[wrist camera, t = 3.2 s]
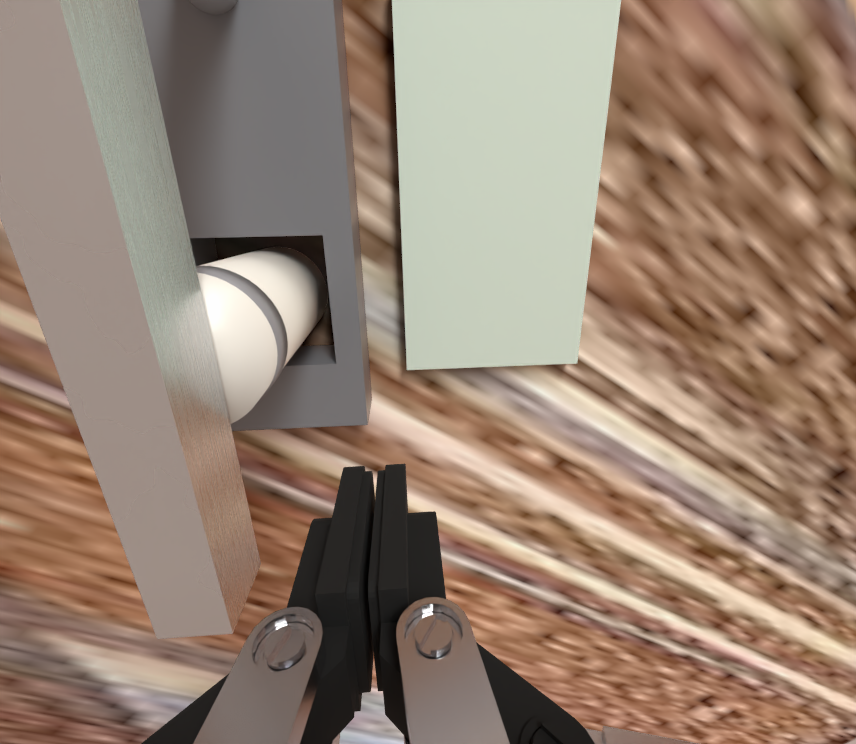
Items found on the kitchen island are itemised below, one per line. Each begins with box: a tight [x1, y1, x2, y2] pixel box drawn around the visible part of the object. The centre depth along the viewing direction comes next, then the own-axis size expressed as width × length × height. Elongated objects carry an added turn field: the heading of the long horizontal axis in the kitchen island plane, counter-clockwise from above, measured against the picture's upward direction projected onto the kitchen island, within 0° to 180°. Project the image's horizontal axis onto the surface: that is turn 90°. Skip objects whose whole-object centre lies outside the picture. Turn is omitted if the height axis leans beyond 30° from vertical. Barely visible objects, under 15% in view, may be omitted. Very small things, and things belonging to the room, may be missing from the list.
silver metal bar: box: [0, 0, 261, 639], centre depth 9 cm, size 19×3×2 cm, turn 1°
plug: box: [196, 247, 328, 424], centre depth 16 cm, size 4×4×10 cm
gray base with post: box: [138, 0, 372, 431], centre depth 14 cm, size 20×8×10 cm, turn 1°
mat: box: [392, 0, 621, 370], centre depth 19 cm, size 16×9×1 cm, turn 1°
